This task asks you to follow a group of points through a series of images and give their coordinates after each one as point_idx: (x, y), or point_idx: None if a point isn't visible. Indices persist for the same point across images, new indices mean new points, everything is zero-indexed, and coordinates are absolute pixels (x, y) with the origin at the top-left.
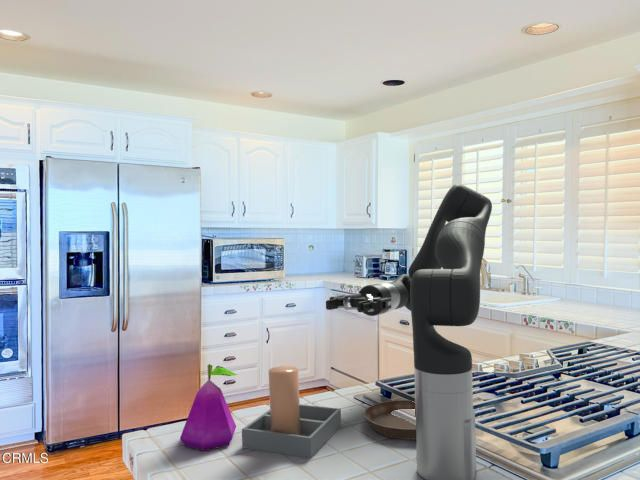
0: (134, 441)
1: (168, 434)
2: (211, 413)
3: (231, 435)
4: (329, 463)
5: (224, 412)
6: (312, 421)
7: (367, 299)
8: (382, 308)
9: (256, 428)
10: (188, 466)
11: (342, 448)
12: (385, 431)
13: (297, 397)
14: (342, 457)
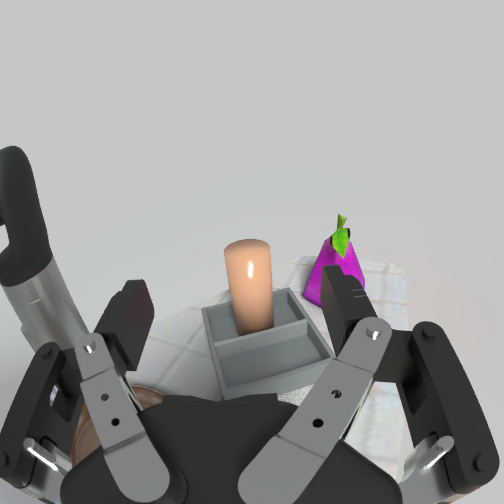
0: (381, 263)
1: (380, 281)
2: (317, 259)
3: (304, 292)
4: (182, 326)
5: (314, 269)
6: (231, 339)
7: (121, 380)
8: (59, 396)
9: (296, 312)
10: (295, 268)
11: (185, 356)
12: (140, 394)
13: (229, 287)
14: (175, 341)
